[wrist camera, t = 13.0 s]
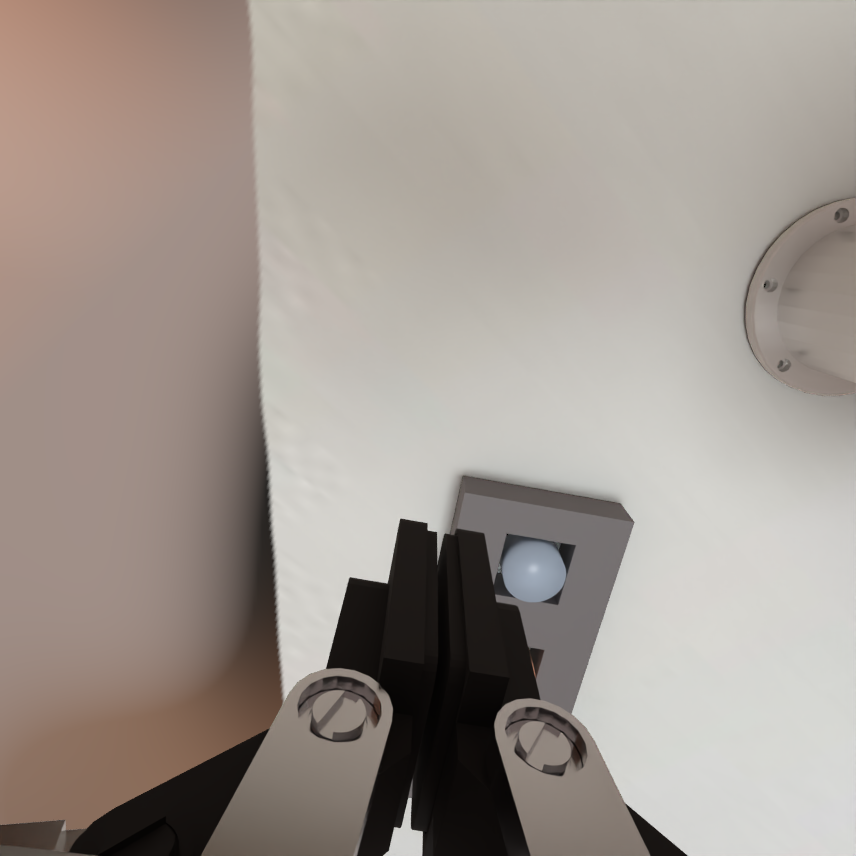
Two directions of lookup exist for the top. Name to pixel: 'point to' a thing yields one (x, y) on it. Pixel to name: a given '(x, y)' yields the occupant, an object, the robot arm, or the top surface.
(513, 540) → the slate blue button
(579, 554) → the button panel
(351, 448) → the top surface
